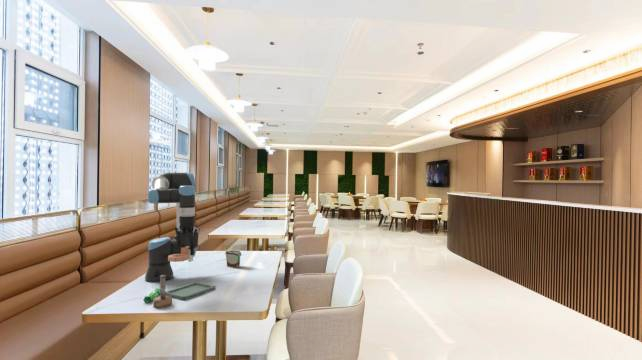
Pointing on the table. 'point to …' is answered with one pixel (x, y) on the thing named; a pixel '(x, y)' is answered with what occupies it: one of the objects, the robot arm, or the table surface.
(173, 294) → the tray
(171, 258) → the ring
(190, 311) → the table surface
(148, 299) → the candy
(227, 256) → the food container
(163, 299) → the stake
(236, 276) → the table surface
